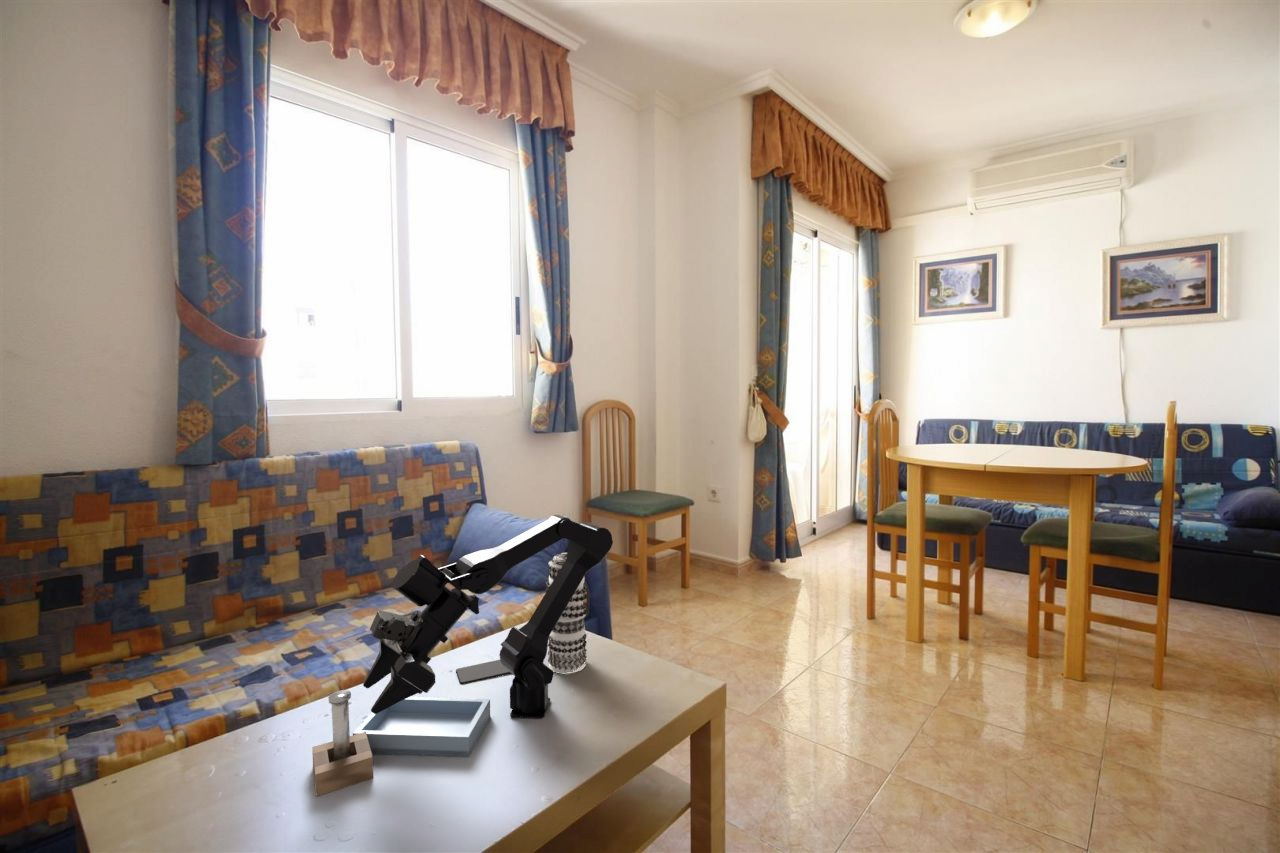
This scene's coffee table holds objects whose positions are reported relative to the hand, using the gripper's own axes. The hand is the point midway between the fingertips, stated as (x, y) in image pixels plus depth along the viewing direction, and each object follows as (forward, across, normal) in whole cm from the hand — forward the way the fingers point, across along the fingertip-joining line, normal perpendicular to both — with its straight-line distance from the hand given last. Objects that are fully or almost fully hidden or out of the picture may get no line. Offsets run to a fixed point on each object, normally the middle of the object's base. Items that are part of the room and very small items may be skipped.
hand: (368, 699), depth 97 cm
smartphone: (-11, -21, +28) cm, 36 cm away
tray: (+1, -4, +15) cm, 15 cm away
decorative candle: (-22, -14, +38) cm, 46 cm away
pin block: (+11, 0, +5) cm, 12 cm away
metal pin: (+11, 0, +5) cm, 12 cm away
